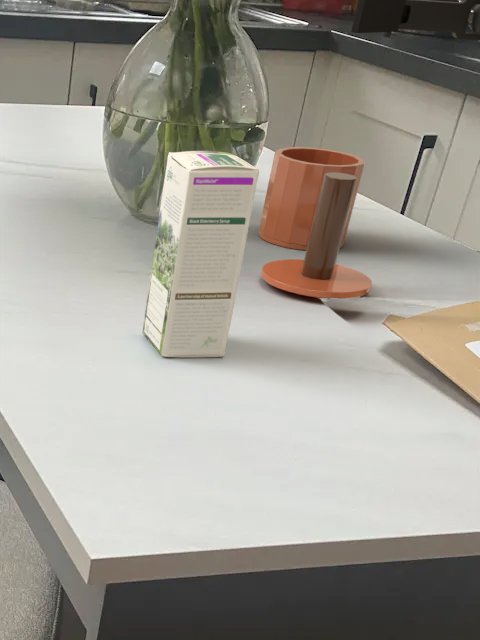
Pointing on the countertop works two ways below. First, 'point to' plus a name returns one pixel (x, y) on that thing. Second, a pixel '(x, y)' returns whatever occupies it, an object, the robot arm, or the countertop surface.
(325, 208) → the lid
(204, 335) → the syrup box
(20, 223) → the countertop surface
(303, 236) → the jar
